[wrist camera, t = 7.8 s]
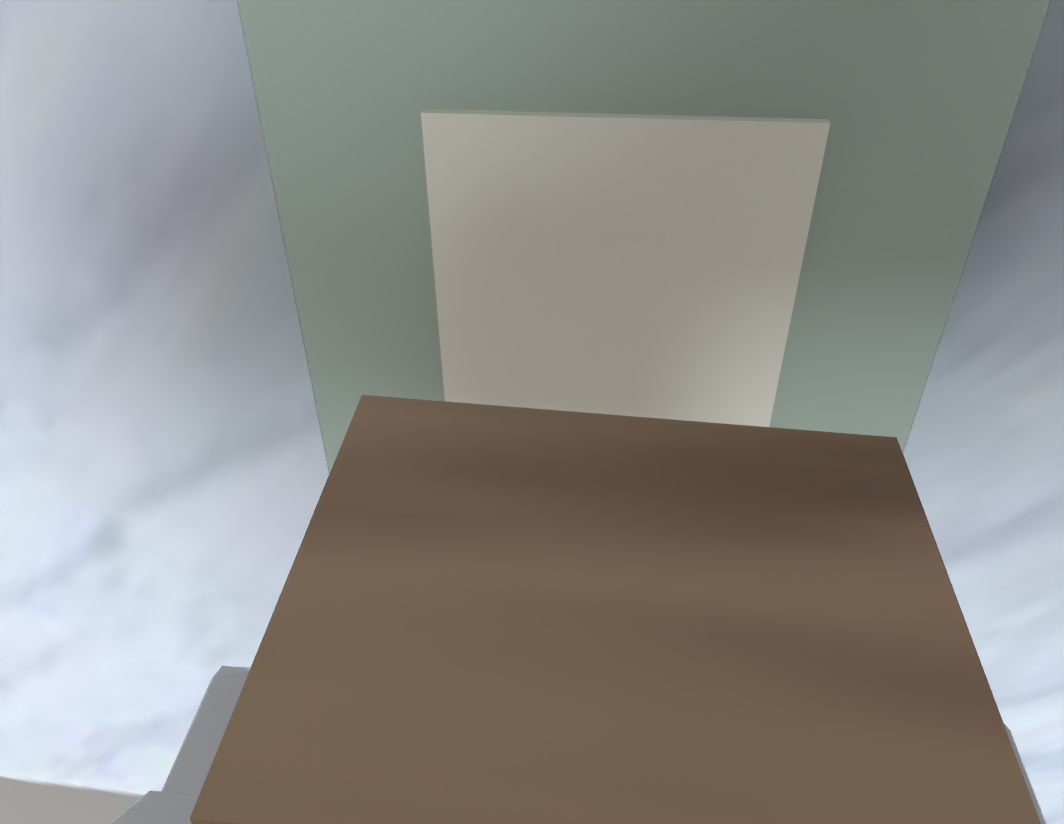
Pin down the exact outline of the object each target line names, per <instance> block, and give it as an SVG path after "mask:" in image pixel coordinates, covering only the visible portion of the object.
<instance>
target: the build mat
mask: <svg viewBox="0 0 1064 824" xmlns="http://www.w3.org/2000/svg"><path fill="white" fill-rule="evenodd" d="M1050 2H1051V0H237V3H238V8H239V13H240V19H241V24H242V29H243V34H244V39H245V44H246V49H247V54H248V60H249V65H250V70H251V75H252V80H253V85H254V90H255V95H256V101H257V106H258V111H259V116H260V121H261V126H262V131H263V137H264V142H265V147H266V152H267V157H268V162H269V167H270V172H271V178H272V183H273V188H274V193H275V198H276V203H277V208H278V213H279V219H280V224H281V229H282V234H283V239H284V244H285V249H286V254H287V260H288V265H289V270H290V275H291V280H292V285H293V290H294V295H295V301H296V306H297V311H298V316H299V321H300V326H301V331H302V336H303V342H304V347H305V352H306V357H307V362H308V367H309V372H310V378H311V383H312V388H313V393H314V398H315V403H316V408H317V413H318V419H319V424H320V429H321V434H322V439H323V444H324V449H325V454H326V460H327V465H328V470H329V474H330V472H331V469H332V467H333V464H334V462H335V459H336V457H337V455H338V452H339V450H340V447H341V445H342V442H343V440H344V437H345V435H346V432H347V430H348V427H349V425H350V423H351V420H352V418H353V415H354V413H355V410H356V408H357V405H358V403H359V400H360V398H361V395H371V396H383V397H396V398H409V399H421V400H434V401H446V402H459V403H471V404H484V405H497V406H509V407H522V408H534V409H547V410H559V411H572V412H584V413H597V414H610V415H622V416H635V417H647V418H660V419H672V420H685V421H698V422H710V423H723V424H735V425H748V426H760V427H773V428H785V429H798V430H811V431H823V432H836V433H848V434H861V435H873V436H886V437H897V440H898V442H899V445H900V448H901V450H902V453H903V451H904V448H905V445H906V442H907V439H908V436H909V433H910V430H911V427H912V424H913V421H914V418H915V415H916V412H917V409H918V406H919V403H920V399H921V396H922V393H923V390H924V387H925V384H926V381H927V378H928V375H929V372H930V369H931V366H932V363H933V360H934V357H935V354H936V351H937V347H938V344H939V341H940V338H941V335H942V332H943V329H944V326H945V323H946V320H947V317H948V314H949V311H950V308H951V305H952V302H953V299H954V295H955V292H956V289H957V286H958V283H959V280H960V277H961V274H962V271H963V268H964V265H965V262H966V259H967V256H968V253H969V250H970V247H971V243H972V240H973V237H974V234H975V231H976V228H977V225H978V222H979V219H980V216H981V213H982V210H983V207H984V204H985V201H986V198H987V195H988V191H989V188H990V185H991V182H992V179H993V176H994V173H995V170H996V167H997V164H998V161H999V158H1000V155H1001V152H1002V149H1003V146H1004V143H1005V139H1006V136H1007V133H1008V130H1009V127H1010V124H1011V121H1012V118H1013V115H1014V112H1015V109H1016V106H1017V103H1018V100H1019V97H1020V94H1021V91H1022V87H1023V84H1024V81H1025V78H1026V75H1027V72H1028V69H1029V66H1030V63H1031V60H1032V57H1033V54H1034V51H1035V48H1036V45H1037V42H1038V39H1039V35H1040V32H1041V29H1042V26H1043V23H1044V20H1045V17H1046V14H1047V11H1048V8H1049V5H1050Z"/></svg>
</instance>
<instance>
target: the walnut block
mask: <svg viewBox="0 0 1064 824" xmlns="http://www.w3.org/2000/svg"><path fill="white" fill-rule="evenodd" d="M190 821H191V823H192V824H1041V823H1040V820H1039V817H1038V815H1037V812H1036V809H1035V807H1034V804H1033V801H1032V799H1031V796H1030V793H1029V791H1028V788H1027V785H1026V783H1025V780H1024V777H1023V775H1022V772H1021V769H1020V766H1019V764H1018V761H1017V758H1016V756H1015V753H1014V750H1013V748H1012V745H1011V742H1010V740H1009V737H1008V734H1007V732H1006V729H1005V726H1004V724H1003V721H1002V718H1001V716H1000V713H999V710H998V708H997V705H996V702H995V700H994V697H993V694H992V691H991V689H990V686H989V683H988V681H987V678H986V675H985V673H984V670H983V667H982V665H981V662H980V659H979V657H978V654H977V651H976V649H975V646H974V643H973V641H972V638H971V635H970V633H969V630H968V627H967V624H966V622H965V619H964V616H963V614H962V611H961V608H960V606H959V603H958V600H957V598H956V595H955V592H954V590H953V587H952V584H951V582H950V579H949V576H948V574H947V571H946V568H945V566H944V563H943V560H942V558H941V555H940V552H939V549H938V547H937V544H936V541H935V539H934V536H933V533H932V531H931V528H930V525H929V523H928V520H927V517H926V515H925V512H924V509H923V507H922V504H921V501H920V499H919V496H918V493H917V491H916V488H915V485H914V483H913V480H912V477H911V474H910V472H909V469H908V466H907V464H906V461H905V458H904V456H903V453H902V450H901V448H900V445H899V442H898V440H897V437H886V436H873V435H861V434H848V433H836V432H823V431H811V430H798V429H785V428H773V427H760V426H748V425H735V424H723V423H710V422H698V421H685V420H672V419H660V418H647V417H635V416H622V415H610V414H597V413H584V412H572V411H559V410H547V409H534V408H522V407H509V406H497V405H484V404H471V403H459V402H446V401H434V400H421V399H409V398H396V397H383V396H371V395H361V398H360V400H359V403H358V405H357V408H356V410H355V413H354V415H353V418H352V420H351V423H350V425H349V427H348V430H347V432H346V435H345V437H344V440H343V442H342V445H341V447H340V450H339V452H338V455H337V457H336V459H335V462H334V464H333V467H332V469H331V472H330V474H329V477H328V479H327V482H326V484H325V487H324V489H323V491H322V494H321V496H320V499H319V501H318V504H317V506H316V509H315V511H314V514H313V516H312V518H311V521H310V523H309V526H308V528H307V531H306V533H305V536H304V538H303V541H302V543H301V546H300V548H299V550H298V553H297V555H296V558H295V560H294V563H293V565H292V568H291V570H290V573H289V575H288V578H287V580H286V582H285V585H284V587H283V590H282V592H281V595H280V597H279V600H278V602H277V605H276V607H275V610H274V612H273V614H272V617H271V619H270V622H269V624H268V627H267V629H266V632H265V634H264V637H263V639H262V642H261V644H260V646H259V649H258V651H257V654H256V656H255V659H254V661H253V664H252V666H251V669H250V671H249V674H248V676H247V678H246V681H245V683H244V686H243V688H242V691H241V693H240V696H239V698H238V701H237V703H236V705H235V708H234V710H233V713H232V715H231V718H230V720H229V723H228V725H227V728H226V730H225V733H224V735H223V737H222V740H221V742H220V745H219V747H218V750H217V752H216V755H215V757H214V760H213V762H212V765H211V767H210V769H209V772H208V774H207V777H206V779H205V782H204V784H203V787H202V789H201V792H200V794H199V797H198V799H197V801H196V804H195V806H194V809H193V811H192V814H191V816H190Z"/></svg>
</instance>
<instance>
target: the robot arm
mask: <svg viewBox="0 0 1064 824" xmlns="http://www.w3.org/2000/svg"><path fill="white" fill-rule="evenodd" d="M250 669H251V668H246V667H231V666H222V667H221V668H220V669H219V671H218V672H217V673H216V674H215V675H214V677H213V678H212V679H211V681H210V684H209V686H208V688H207V690H206V693H205V695H204V697H203V699H202V702H201V704H200V706H199V708H198V711H197V713H196V715H195V717H194V720H193V722H192V724H191V726H190V729H189V731H188V733H187V735H186V738H185V740H184V742H183V744H182V747H181V749H180V751H179V753H178V756H177V758H176V760H175V762H174V765H173V767H172V769H171V771H170V774H169V776H168V778H167V780H166V783H165V785H164V787H163V789H162V791H149V792H148V793H146V794H145V795H144V796H143V797H142V798H140V799H139V800H138V801H137V802H136V803H134V804H133V805H132V806H131V807H130V808H129V809H128V810H126V811H125V812H124V813H123V814H121V815H120V816H119V817H118V818H117V819H116V820H114V821H113V822H112V823H111V824H192V823H191V821H190V816H191V814H192V811H193V809H194V806H195V804H196V801H197V799H198V797H199V794H200V792H201V789H202V787H203V784H204V782H205V779H206V777H207V774H208V772H209V769H210V767H211V765H212V762H213V760H214V757H215V755H216V752H217V750H218V747H219V745H220V742H221V740H222V737H223V735H224V733H225V730H226V728H227V725H228V723H229V720H230V718H231V715H232V713H233V710H234V708H235V705H236V703H237V701H238V698H239V696H240V693H241V691H242V688H243V686H244V683H245V681H246V678H247V676H248V674H249V671H250ZM1003 724H1004V723H1003ZM1004 726H1005V729H1006V732H1007V734H1008V737H1009V740H1010V742H1011V745H1012V748H1013V750H1014V753H1015V756H1016V758H1017V761H1018V764H1019V766H1020V769H1021V772H1022V775H1023V777H1024V780H1025V783H1026V785H1027V788H1028V791H1029V793H1030V796H1031V799H1032V801H1033V804H1034V807H1035V809H1036V812H1037V815H1038V817H1039V820H1040V823H1041V824H1046V821H1045V819H1044V816H1043V814H1042V811H1041V808H1040V806H1039V803H1038V801H1037V798H1036V795H1035V793H1034V790H1033V788H1032V785H1031V783H1030V780H1029V777H1028V775H1027V772H1026V770H1025V767H1024V765H1023V762H1022V759H1021V757H1020V754H1019V752H1018V749H1017V746H1016V744H1015V741H1014V739H1013V736H1012V734H1011V731H1010V730H1009V729H1008V727H1007V726H1006V725H1005V724H1004Z"/></svg>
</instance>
